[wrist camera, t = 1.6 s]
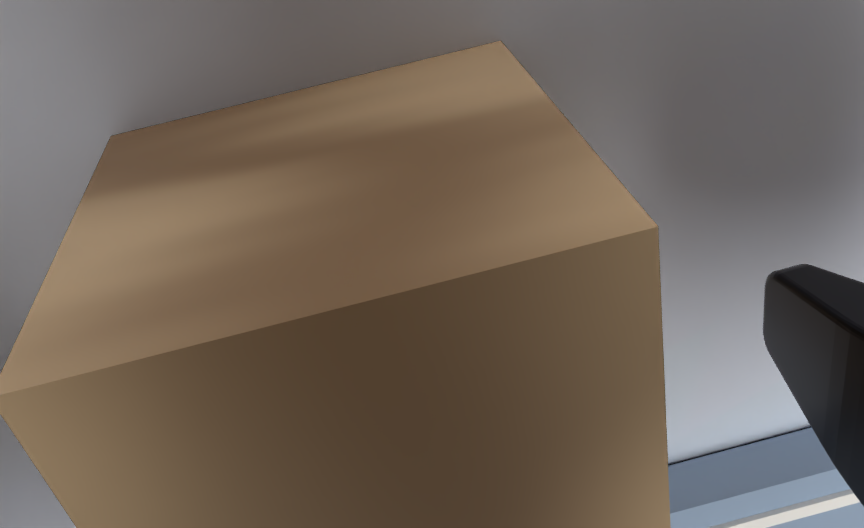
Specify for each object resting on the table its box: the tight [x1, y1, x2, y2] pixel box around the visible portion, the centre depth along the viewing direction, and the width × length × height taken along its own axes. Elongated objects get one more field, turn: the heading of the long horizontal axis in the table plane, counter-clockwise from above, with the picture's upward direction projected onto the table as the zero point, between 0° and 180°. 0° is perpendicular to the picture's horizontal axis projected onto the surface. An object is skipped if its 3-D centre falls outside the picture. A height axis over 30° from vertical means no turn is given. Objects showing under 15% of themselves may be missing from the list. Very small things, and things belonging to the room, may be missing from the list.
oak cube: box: [0, 41, 671, 528], centre depth 9 cm, size 5×5×5 cm
